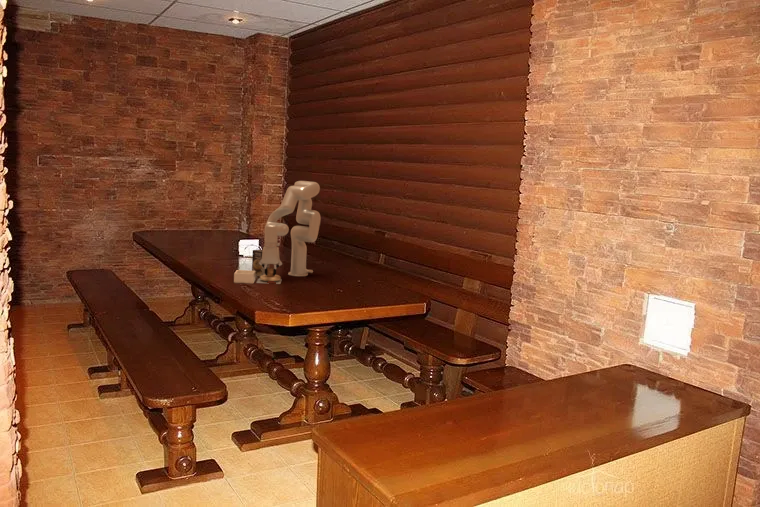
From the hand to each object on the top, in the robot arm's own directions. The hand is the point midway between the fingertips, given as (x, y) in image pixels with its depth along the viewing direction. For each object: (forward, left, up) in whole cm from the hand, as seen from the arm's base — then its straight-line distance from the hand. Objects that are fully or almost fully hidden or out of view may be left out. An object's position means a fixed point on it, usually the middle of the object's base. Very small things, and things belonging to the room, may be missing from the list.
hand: (270, 274), depth 375 cm
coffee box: (+7, -16, -4) cm, 18 cm away
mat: (0, +1, -4) cm, 4 cm away
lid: (0, 0, -2) cm, 2 cm away
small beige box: (+14, +5, -4) cm, 16 cm away
